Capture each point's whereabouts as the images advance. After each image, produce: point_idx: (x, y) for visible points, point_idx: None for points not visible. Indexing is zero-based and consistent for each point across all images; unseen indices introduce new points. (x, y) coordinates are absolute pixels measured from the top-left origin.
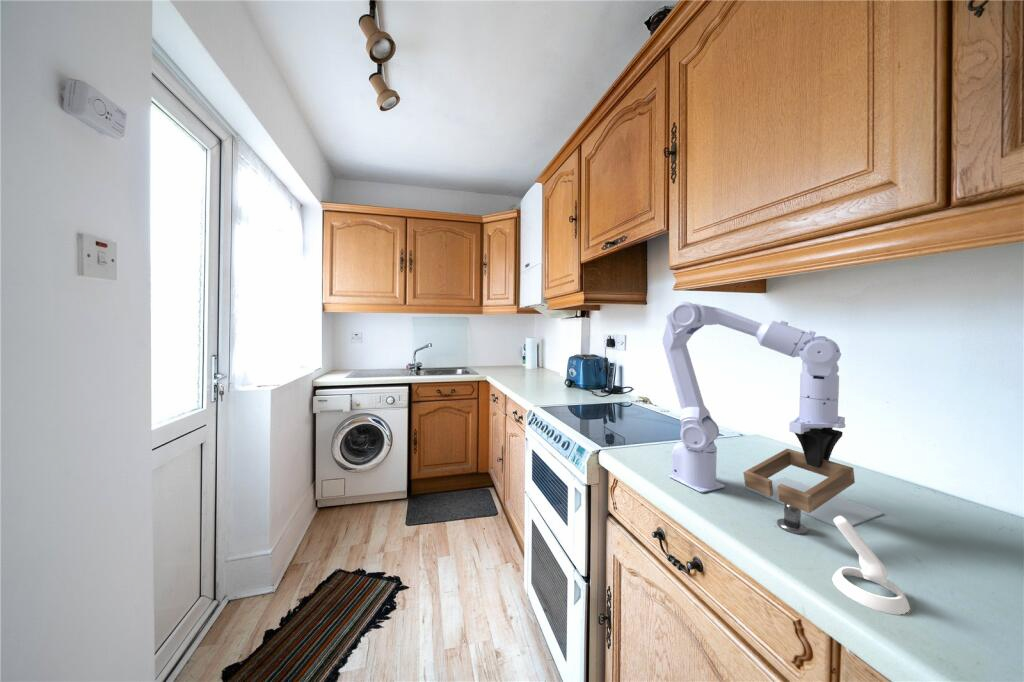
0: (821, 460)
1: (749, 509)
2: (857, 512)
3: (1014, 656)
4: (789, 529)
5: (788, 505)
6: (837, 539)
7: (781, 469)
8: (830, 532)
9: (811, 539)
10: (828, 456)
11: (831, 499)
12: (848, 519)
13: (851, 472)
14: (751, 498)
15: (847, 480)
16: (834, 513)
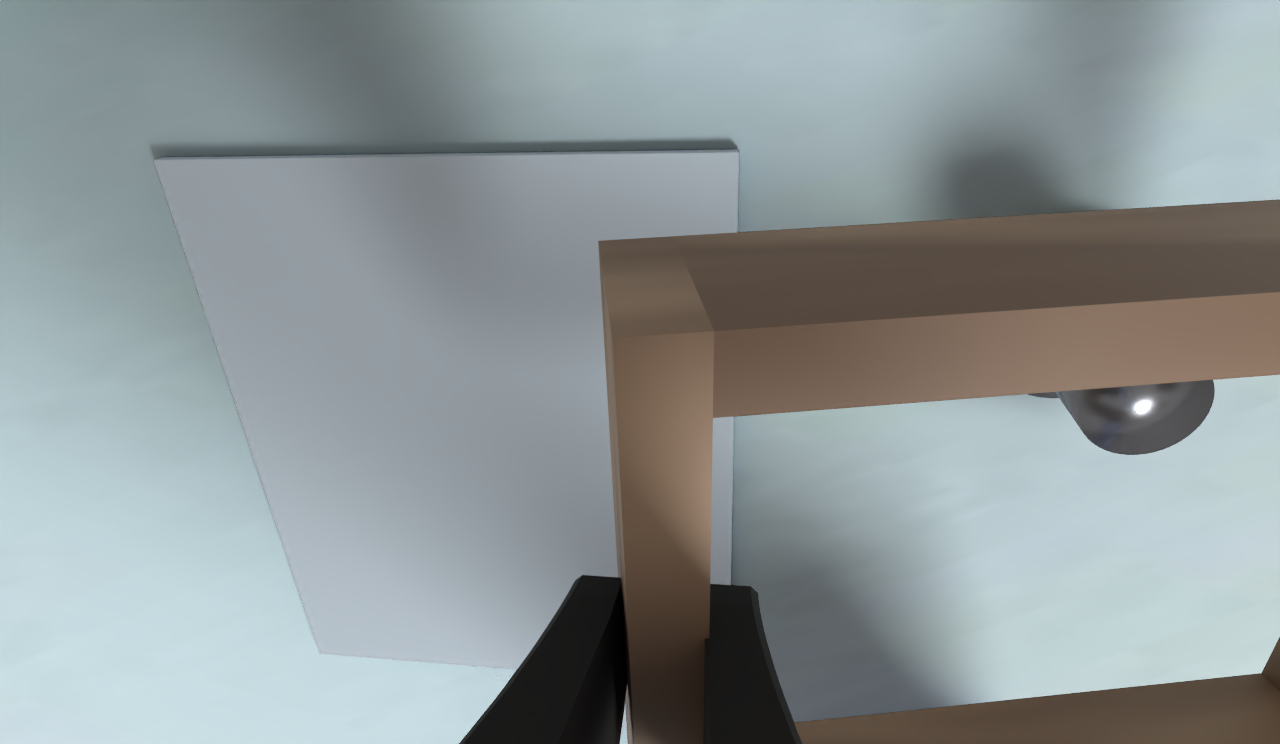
0: (753, 657)
1: (1032, 545)
2: (352, 237)
3: None
4: None
5: (1207, 406)
6: (946, 87)
7: (840, 725)
8: (869, 165)
9: (1138, 164)
10: (568, 674)
11: (335, 401)
12: (536, 207)
13: (681, 305)
14: (840, 608)
15: (793, 264)
16: (538, 293)
